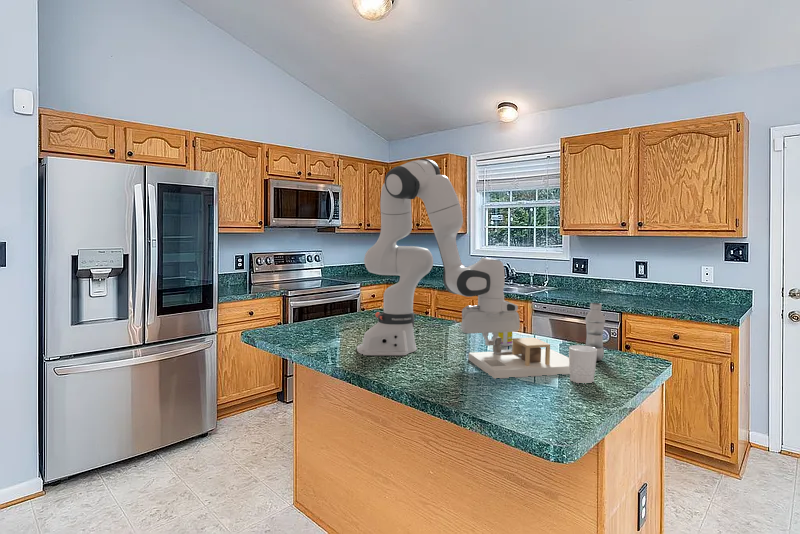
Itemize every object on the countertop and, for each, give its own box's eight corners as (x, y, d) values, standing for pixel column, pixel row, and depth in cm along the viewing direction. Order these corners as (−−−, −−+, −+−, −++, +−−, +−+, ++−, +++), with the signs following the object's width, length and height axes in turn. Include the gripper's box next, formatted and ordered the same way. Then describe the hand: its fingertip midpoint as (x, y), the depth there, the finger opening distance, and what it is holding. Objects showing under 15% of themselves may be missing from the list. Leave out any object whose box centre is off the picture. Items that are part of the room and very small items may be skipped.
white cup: (563, 377, 147) (564, 345, 146) (588, 376, 148) (589, 345, 147) (574, 385, 139) (576, 351, 138) (600, 384, 140) (602, 351, 139)
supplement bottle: (511, 342, 192) (511, 311, 191) (513, 346, 186) (514, 314, 185) (494, 342, 193) (494, 310, 192) (495, 346, 186) (496, 313, 185)
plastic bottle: (603, 358, 169) (605, 302, 167) (604, 363, 162) (606, 305, 161) (583, 357, 171) (585, 301, 170) (584, 361, 165) (586, 304, 163)
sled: (512, 363, 152) (512, 346, 151) (493, 352, 166) (493, 336, 166) (540, 361, 154) (541, 344, 154) (519, 350, 168) (519, 335, 168)
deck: (494, 378, 145) (495, 349, 144) (468, 359, 166) (469, 334, 165) (585, 372, 151) (586, 345, 151) (549, 355, 173) (549, 330, 172)
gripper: (465, 307, 158) (464, 348, 158) (522, 305, 162) (521, 346, 163) (458, 304, 164) (458, 344, 165) (514, 303, 168) (513, 342, 169)
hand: (490, 345), depth 164 cm, fingers closed
